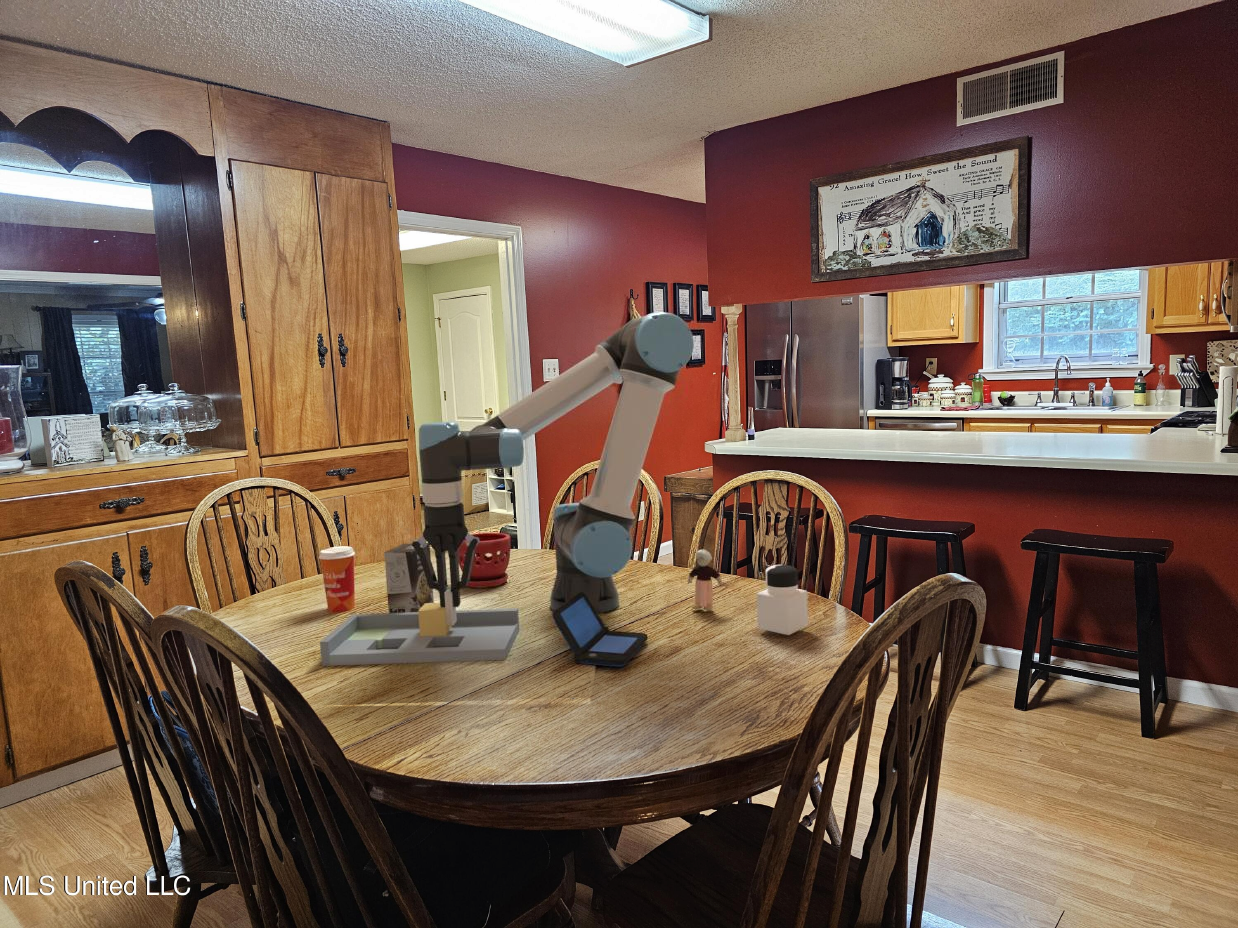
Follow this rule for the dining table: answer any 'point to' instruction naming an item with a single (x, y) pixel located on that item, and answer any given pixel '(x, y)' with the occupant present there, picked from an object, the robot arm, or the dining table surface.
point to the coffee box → (406, 580)
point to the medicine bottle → (782, 602)
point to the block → (433, 620)
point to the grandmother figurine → (704, 581)
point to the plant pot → (487, 560)
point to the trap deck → (420, 639)
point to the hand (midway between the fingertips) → (451, 622)
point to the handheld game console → (594, 635)
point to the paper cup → (338, 578)
